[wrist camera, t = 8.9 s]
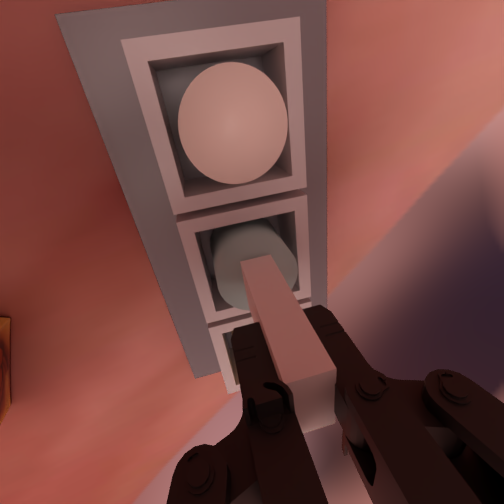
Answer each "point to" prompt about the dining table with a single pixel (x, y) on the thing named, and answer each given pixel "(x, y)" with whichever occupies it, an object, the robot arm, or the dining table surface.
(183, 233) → the button panel
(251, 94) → the ivory button
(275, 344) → the robot arm
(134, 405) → the dining table surface
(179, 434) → the dining table surface
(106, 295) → the dining table surface
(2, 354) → the candy box
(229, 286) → the teal button
